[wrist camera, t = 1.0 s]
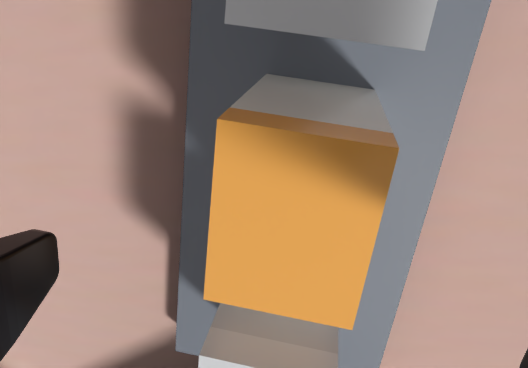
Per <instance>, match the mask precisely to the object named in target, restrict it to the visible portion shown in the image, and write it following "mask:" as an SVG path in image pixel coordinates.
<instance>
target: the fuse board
mask: <svg viewBox="0 0 528 368" xmlns="http://www.w3.org/2000/svg"><path fill="white" fill-rule="evenodd" d="M490 3H491V0H438V1H437V5H436V9H435V13H434V17H433V21H432V25H431V28H430V32H429V36H428V40H427V44H426V48H425V51H421V50H413V49H406V48H399V47H391V46H384V45H377V44H370V43H362V42H355V41H348V40H340V39H333V38H326V37H319V36H311V35H304V34H297V33H290V32H282V31H275V30H268V29H260V28H253V27H246V26H239V25H231V24H224V22H225V9H226V0H192V5H191V27H190V49H189V70H188V92H187V113H186V135H185V156H184V178H183V199H182V221H181V242H180V264H179V285H178V307H177V328H176V350H175V351H178V352H183V353H187V354H192V355H196V356H199V354H200V352H201V349H202V347H203V344H204V342H205V339H206V337H207V334H208V332H209V330H210V327H211V325H212V322H213V320H214V317H215V315H216V312H217V310H218V307H219V305H220V303H218V302H213V301H208V300H204V299H203V298H204V284H205V271H206V258H207V245H208V232H209V219H210V206H211V192H212V179H213V166H214V153H215V140H216V127H217V119H218V118H219V117H220V116H221V115H222V114H223V113H224V112H225V111H226V110H227V109H229V108H230V107H231V106H232V105H233V104H234V103H235V102H236V101H237V100H238V99H239V98H241V97H242V96H243V95H244V94H245V93H246V92H247V91H248V90H249V89H250V88H251V87H253V86H254V85H255V84H256V83H257V82H258V81H259V80H260V79H261V78H262V77H264V76H265V75H266V74H272V75H279V76H285V77H292V78H299V79H306V80H312V81H319V82H326V83H333V84H339V85H346V86H353V87H360V88H366V89H373V90H375V91H376V93H377V96H378V98H379V101H380V103H381V105H382V108H383V110H384V113H385V115H386V117H387V120H388V122H389V125H390V127H391V129H392V132H393V134H394V137H395V139H396V141H397V144H398V146H399V152H398V156H397V160H396V164H395V168H394V171H393V175H392V179H391V183H390V187H389V191H388V195H387V198H386V202H385V206H384V210H383V214H382V218H381V222H380V225H379V229H378V233H377V237H376V241H375V245H374V249H373V252H372V256H371V260H370V264H369V268H368V272H367V276H366V280H365V283H364V287H363V291H362V295H361V299H360V303H359V307H358V310H357V314H356V318H355V322H354V326H353V330H348V329H344V328H339V327H338V368H379V367H380V364H381V360H382V357H383V354H384V350H385V347H386V344H387V341H388V337H389V334H390V331H391V327H392V324H393V321H394V318H395V314H396V311H397V308H398V305H399V301H400V298H401V295H402V291H403V288H404V285H405V282H406V278H407V275H408V272H409V268H410V265H411V262H412V259H413V255H414V252H415V249H416V246H417V242H418V239H419V236H420V232H421V229H422V226H423V223H424V219H425V216H426V213H427V209H428V206H429V203H430V200H431V196H432V193H433V190H434V187H435V183H436V180H437V177H438V173H439V170H440V167H441V164H442V160H443V157H444V154H445V151H446V147H447V144H448V141H449V137H450V134H451V131H452V128H453V124H454V121H455V118H456V114H457V111H458V108H459V105H460V101H461V98H462V95H463V92H464V88H465V85H466V82H467V78H468V75H469V72H470V69H471V65H472V62H473V59H474V55H475V52H476V49H477V46H478V42H479V39H480V36H481V33H482V29H483V26H484V23H485V19H486V16H487V13H488V10H489V6H490Z"/></svg>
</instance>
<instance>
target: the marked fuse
mask: <svg viewBox="0 0 528 368" xmlns="http://www.w3.org/2000/svg"><path fill="white" fill-rule="evenodd" d="M398 152H399V146H398V144H397V141H396V139H395V137H394V134H393V132H392V129H391V127H390V125H389V122H388V120H387V117H386V115H385V113H384V110H383V108H382V105H381V103H380V101H379V98H378V96H377V93H376V91H375V90H373V89H366V88H360V87H353V86H346V85H339V84H333V83H326V82H319V81H312V80H306V79H299V78H292V77H285V76H279V75H272V74H266V75H265V76H264V77H262V78H261V79H260V80H259V81H258V82H257V83H256V84H255V85H254V86H253V87H251V88H250V89H249V90H248V91H247V92H246V93H245V94H244V95H243V96H242V97H241V98H239V99H238V100H237V101H236V102H235V103H234V104H233V105H232V106H231V107H230V108H229V109H227V110H226V111H225V112H224V113H223V114H222V115H221V116H220V117H219V118H218V119H217V127H216V140H215V153H214V166H213V179H212V192H211V206H210V219H209V232H208V245H207V258H206V271H205V284H204V298H203V299H204V300H208V301H213V302H218V303H223V304H228V305H233V306H237V307H242V308H247V309H252V310H257V311H262V312H266V313H271V314H276V315H281V316H286V317H291V318H295V319H300V320H305V321H310V322H315V323H319V324H324V325H329V326H334V327H339V328H344V329H348V330H353V326H354V322H355V318H356V314H357V310H358V307H359V303H360V299H361V295H362V291H363V287H364V283H365V280H366V276H367V272H368V268H369V264H370V260H371V256H372V252H373V249H374V245H375V241H376V237H377V233H378V229H379V225H380V222H381V218H382V214H383V210H384V206H385V202H386V198H387V195H388V191H389V187H390V183H391V179H392V175H393V171H394V168H395V164H396V160H397V156H398Z"/></svg>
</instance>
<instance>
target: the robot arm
mask: <svg viewBox="0 0 528 368" xmlns="http://www.w3.org/2000/svg"><path fill="white" fill-rule="evenodd" d="M58 273H59V259H58V248H57V239H56V237H55V235H54V234H53V233H51V232H46V231H41V230H36V229H32V230H28V231H24V232H20V233H17V234H13V235H9V236H6V237H2V238H0V361H1V360H2V359H3V357H4V356H5V355H6V354H7V352H8V351H9V350H10V348H11V347H12V346H13V344H14V343H15V341H16V340H17V339H18V337H19V336H20V334H21V333H22V331H23V330H24V328H25V327H26V325H27V324H28V322H29V321H30V319H31V318H32V316H33V315H34V313H35V311H36V310H37V308H38V307H39V305H40V304H41V302H42V301H43V299H44V298H45V296H46V295H47V293H48V292H49V290H50V289H51V287H52V286H53V284H54V283H55V281H56V279H57V277H58ZM520 368H528V349H527V351H526V353H525V355H524V357H523V359H522V362H521V364H520Z"/></svg>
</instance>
